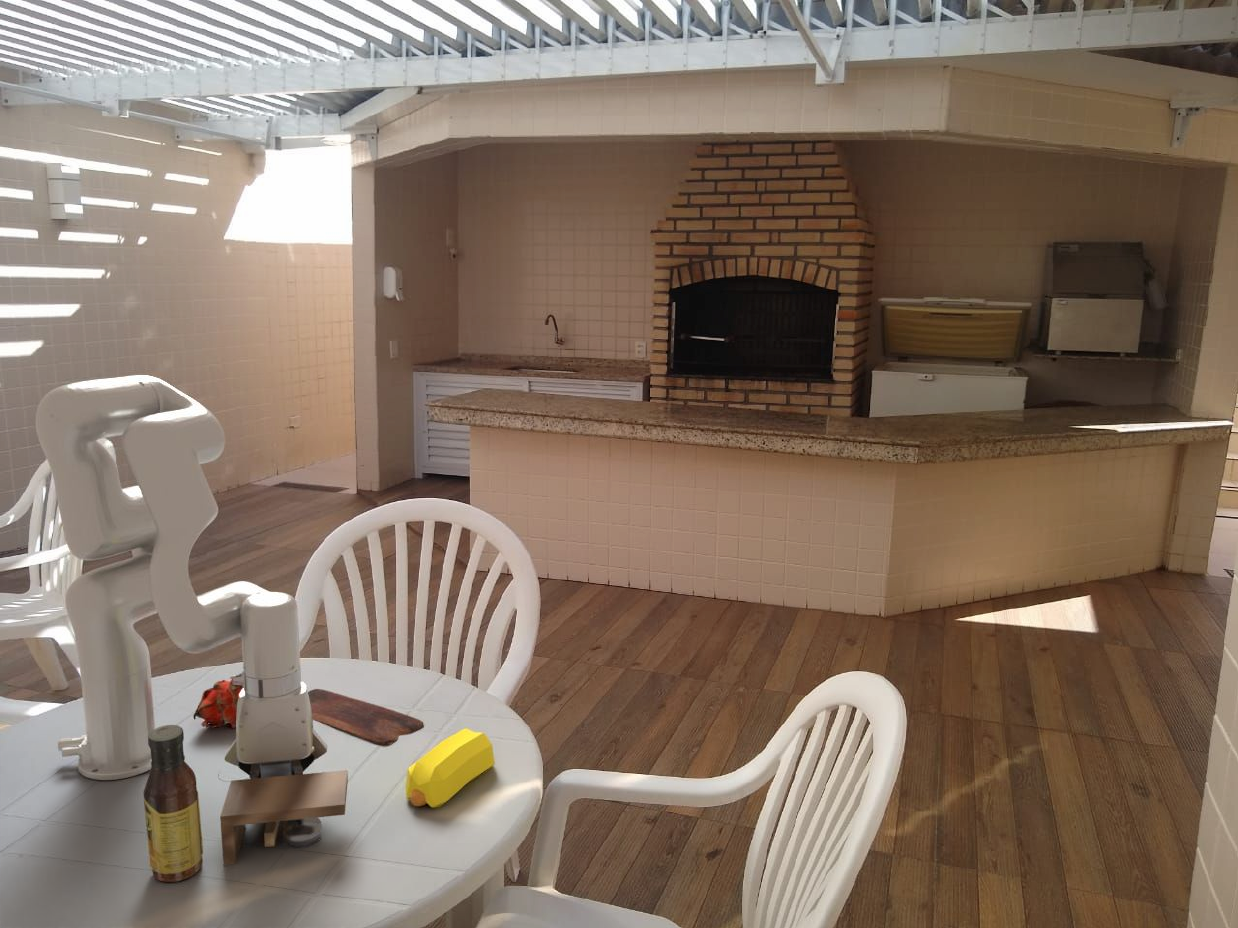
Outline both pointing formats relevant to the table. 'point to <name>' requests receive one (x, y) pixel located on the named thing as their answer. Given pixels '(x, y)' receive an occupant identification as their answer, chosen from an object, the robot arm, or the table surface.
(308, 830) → the steel token
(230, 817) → the walnut shelf
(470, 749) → the yellow faceted part
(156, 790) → the sauce bottle
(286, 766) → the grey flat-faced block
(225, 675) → the table surface
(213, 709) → the dragon fruit
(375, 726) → the wooden tablet
